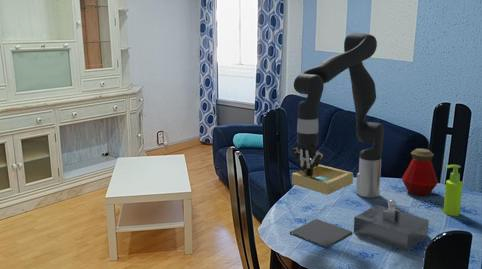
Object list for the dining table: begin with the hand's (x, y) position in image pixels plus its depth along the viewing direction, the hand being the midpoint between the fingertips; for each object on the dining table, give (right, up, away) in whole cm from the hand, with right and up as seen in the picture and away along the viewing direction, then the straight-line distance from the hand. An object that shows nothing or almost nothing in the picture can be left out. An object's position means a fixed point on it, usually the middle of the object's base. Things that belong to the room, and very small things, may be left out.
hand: (307, 176), depth 152 cm
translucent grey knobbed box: (+30, -20, -2) cm, 36 cm away
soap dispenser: (+60, -16, +15) cm, 64 cm away
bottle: (+57, -11, +38) cm, 69 cm away
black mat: (+5, -21, -1) cm, 21 cm away
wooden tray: (+5, -2, -5) cm, 7 cm away
